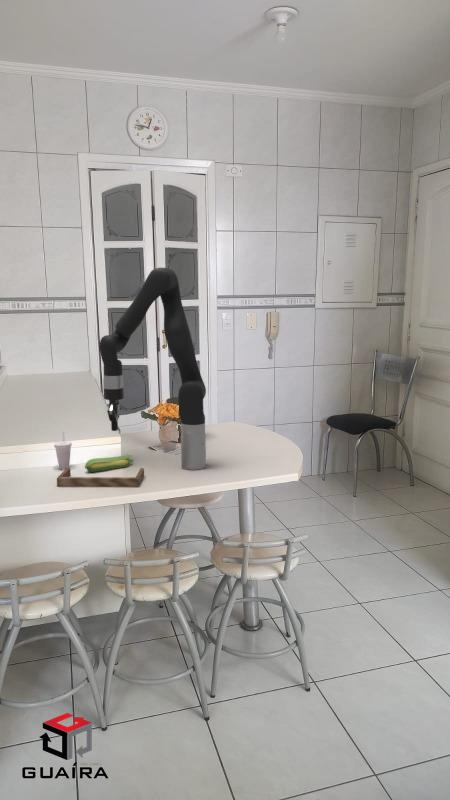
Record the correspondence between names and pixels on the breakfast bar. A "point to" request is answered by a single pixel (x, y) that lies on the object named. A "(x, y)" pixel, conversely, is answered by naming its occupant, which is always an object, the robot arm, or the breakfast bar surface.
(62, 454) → the smoothie
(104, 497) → the breakfast bar surface
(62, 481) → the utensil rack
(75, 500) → the breakfast bar surface
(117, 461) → the edible corn
